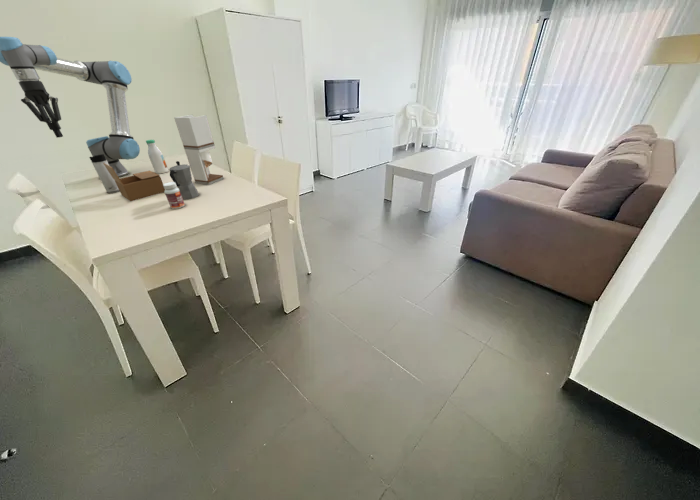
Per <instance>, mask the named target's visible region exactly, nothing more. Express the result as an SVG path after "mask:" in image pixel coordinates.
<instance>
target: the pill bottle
mask: <svg viewBox="0 0 700 500" xmlns="http://www.w3.org/2000/svg"><path fill="white" fill-rule="evenodd" d="M163 186H164V189H165V191H164V192H163V193H164V194H165V197H166V200H167V202H168V204H169V207H170V209H172V210H177V209H182V208H184V207H185V205H186V204H185V202H184V199H183V198H182V196H181V193H180V190H179V188H178V187H177V185H176V183H175V182H173V181H169V182H165V183H163Z"/></svg>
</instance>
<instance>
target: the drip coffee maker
mask: <svg viewBox="0 0 700 500" xmlns="http://www.w3.org/2000/svg"><path fill="white" fill-rule="evenodd" d="M173 119H174V122H175V125H176V128H177V131H178V134H179V137H180V140H181V143H182V146H183V149H184V152H185V155H186V159H187V161H188V165H190V171H191V175H192V178H193V180H194V183H195V184H201V185H209V186H210V185H212V184H215V183H217V182H220V181H222V180H224V176H223V174H215V173H211V171H210V168H209V167H211V166H212V165H213V160H212V157H211V152H210V150H214V149H216V145H215V142H214V139H213V134H212V131H211V127H210V123H209V119H208V116H207V114H204V115H198V116H197V115H196V116H194V114H188V115H181V116H174V117H173Z"/></svg>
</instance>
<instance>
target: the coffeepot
mask: <svg viewBox="0 0 700 500" xmlns="http://www.w3.org/2000/svg"><path fill="white" fill-rule="evenodd" d="M175 163H176V165H174V166H171V167H169V168H168V171H169V177H170V178H171V180H172V182H175V183H176V185H177V188H179V190H180V193H181V196H182V198H183V200H192V199H195V198H197V197H199V194H200V193H199V191H198V190H197V188H196V186H195V184H194V182H193V180H192V179H193V176H192V171H191V168H190V165H189V164H181V163H180V160H179V161H178V160H176V161H175Z"/></svg>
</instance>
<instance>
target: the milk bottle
mask: <svg viewBox="0 0 700 500" xmlns="http://www.w3.org/2000/svg"><path fill="white" fill-rule="evenodd" d="M145 143H146V145H147V154H148V158H149V161H150V163H151V166H152V168H153V170H154V171H153V172H154V173H156V174H158V175H160V174H165V173H168V172H169V168H168V165H167V162H166V160H165V156H164V155H163V152H162V151H161V149H160V148H159V147H158V146H157V145H156V141H155V139H147V140H145Z"/></svg>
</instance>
